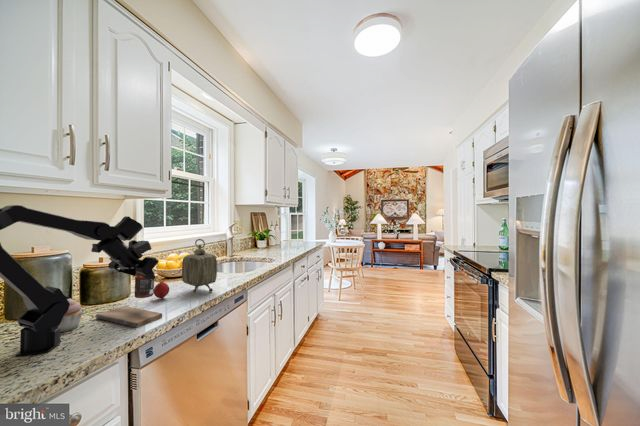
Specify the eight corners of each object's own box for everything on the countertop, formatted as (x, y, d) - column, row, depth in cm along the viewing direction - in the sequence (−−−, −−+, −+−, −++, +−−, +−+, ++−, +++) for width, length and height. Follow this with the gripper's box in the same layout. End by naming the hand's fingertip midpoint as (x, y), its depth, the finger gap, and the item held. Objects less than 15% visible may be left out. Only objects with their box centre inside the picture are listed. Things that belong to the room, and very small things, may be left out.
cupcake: (54, 324, 86) (54, 294, 86) (89, 321, 89) (90, 291, 89) (35, 337, 77) (36, 303, 77) (75, 332, 81) (76, 299, 81)
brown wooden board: (134, 328, 84) (134, 323, 84) (95, 318, 91) (95, 314, 91) (162, 317, 93) (162, 313, 93) (124, 309, 100) (124, 305, 100)
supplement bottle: (156, 295, 98) (158, 265, 98) (138, 299, 93) (140, 267, 93) (148, 293, 101) (150, 263, 101) (131, 296, 96) (132, 265, 96)
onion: (161, 301, 110) (162, 282, 110) (150, 300, 111) (150, 281, 111) (172, 297, 116) (172, 279, 116) (160, 296, 117) (161, 278, 117)
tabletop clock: (216, 291, 125) (217, 239, 125) (199, 296, 117) (200, 240, 117) (197, 287, 132) (198, 237, 133) (180, 291, 124) (181, 238, 125)
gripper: (154, 234, 91) (180, 262, 101) (119, 232, 97) (146, 258, 107) (129, 260, 83) (160, 287, 93) (93, 256, 90) (125, 282, 100)
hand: (148, 277), depth 98 cm, fingers closed on supplement bottle, 6 cm apart
